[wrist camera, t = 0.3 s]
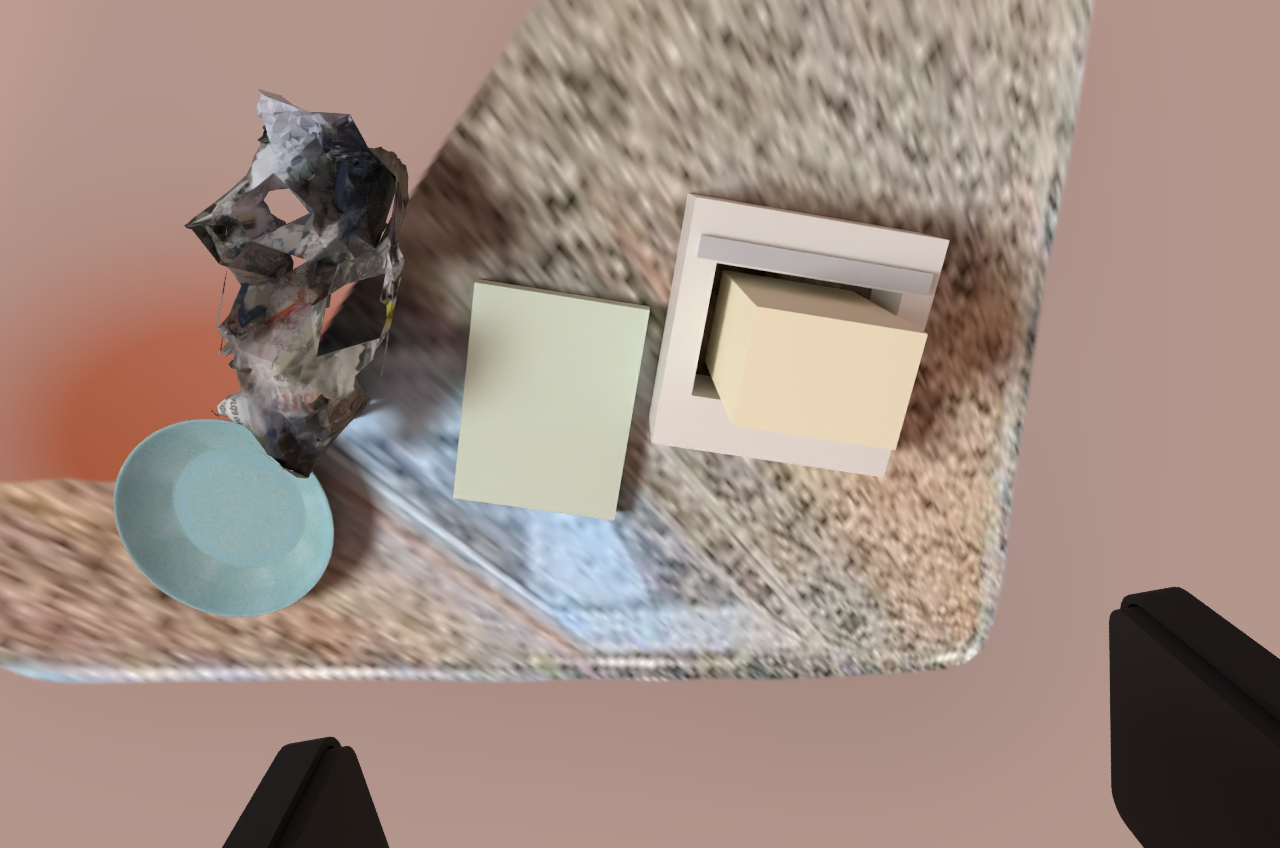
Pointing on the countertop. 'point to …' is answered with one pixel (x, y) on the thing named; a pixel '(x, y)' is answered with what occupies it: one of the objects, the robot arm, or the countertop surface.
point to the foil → (303, 275)
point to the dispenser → (783, 245)
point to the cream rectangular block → (811, 360)
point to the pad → (548, 399)
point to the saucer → (221, 520)
